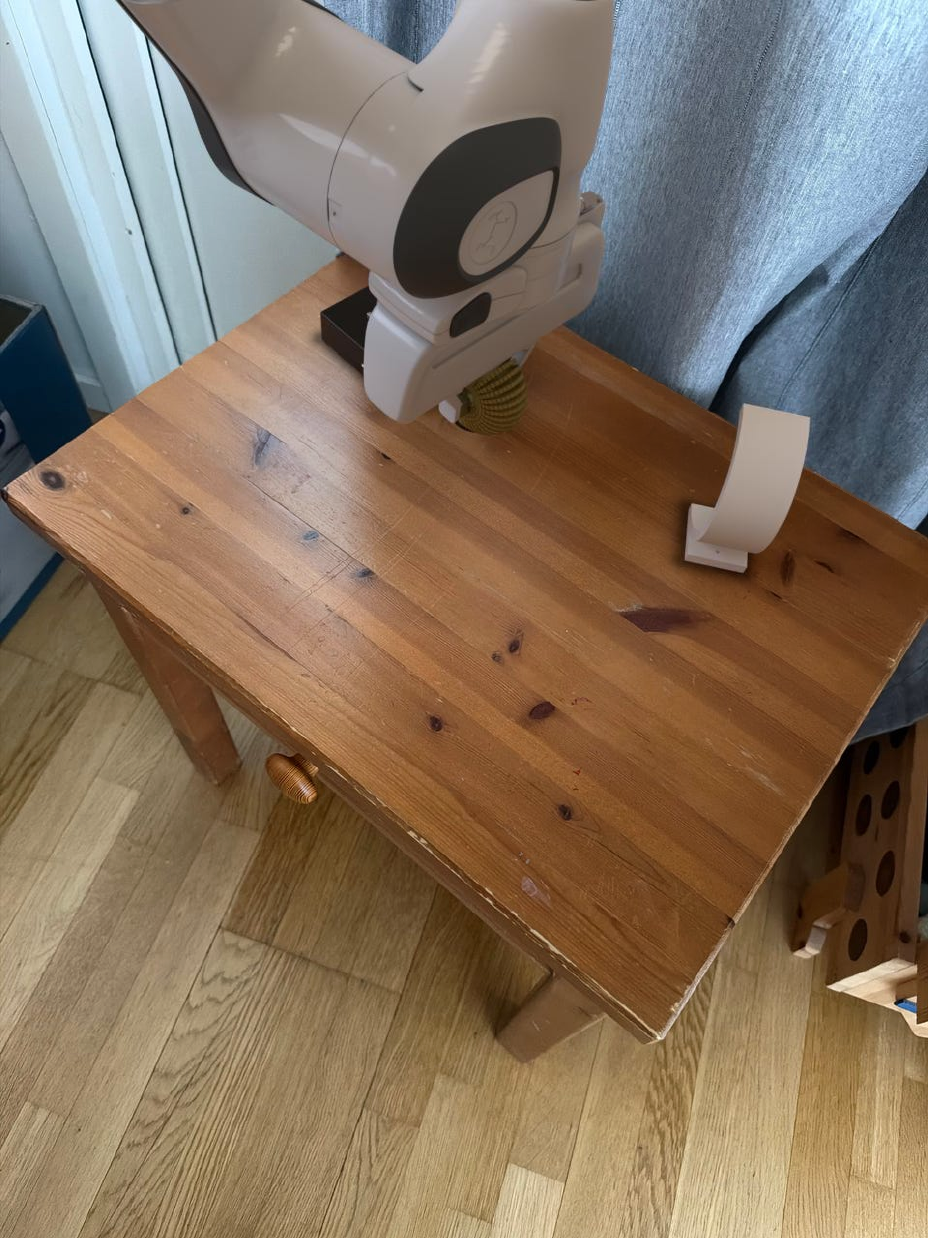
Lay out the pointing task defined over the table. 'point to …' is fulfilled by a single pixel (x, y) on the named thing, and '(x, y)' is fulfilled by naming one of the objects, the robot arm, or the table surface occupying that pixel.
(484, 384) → the sculpture
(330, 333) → the panel
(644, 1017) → the table surface
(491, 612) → the table surface
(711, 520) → the headphone stand
